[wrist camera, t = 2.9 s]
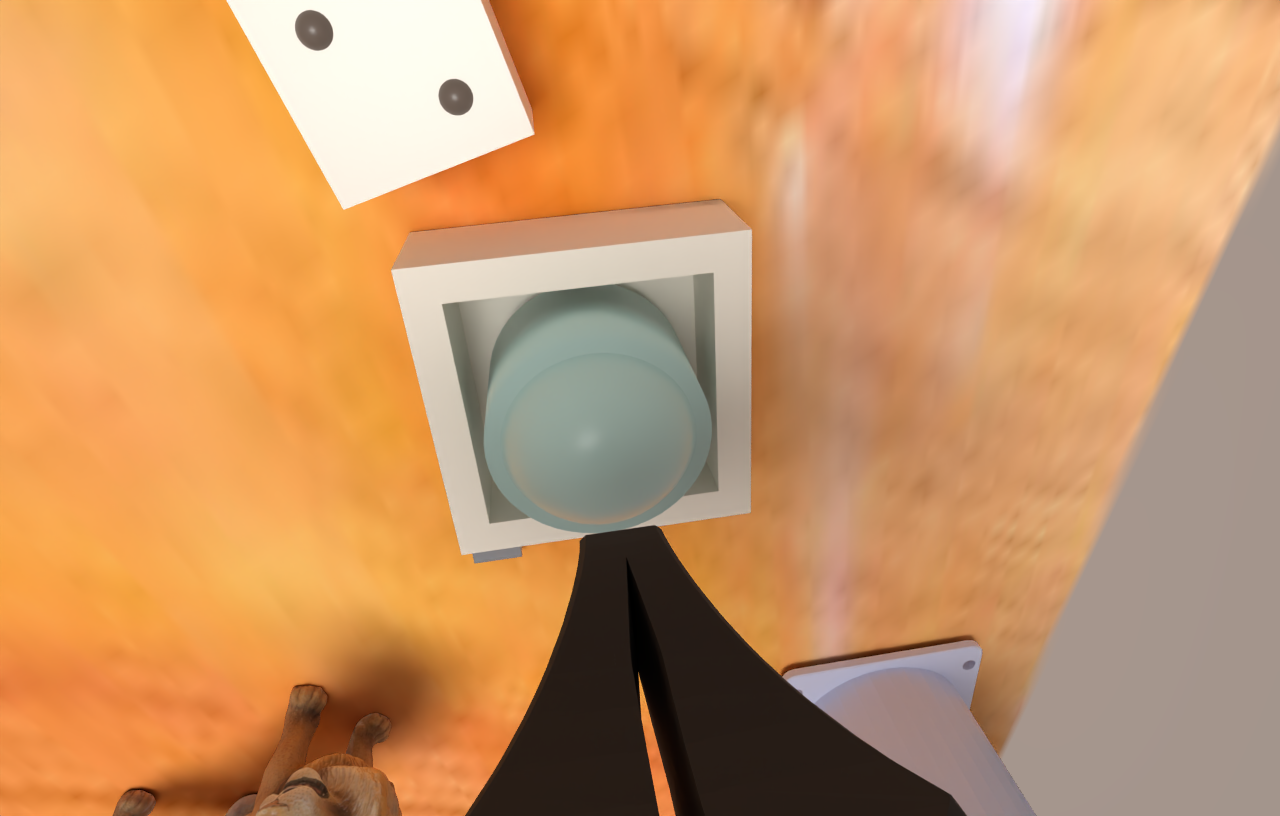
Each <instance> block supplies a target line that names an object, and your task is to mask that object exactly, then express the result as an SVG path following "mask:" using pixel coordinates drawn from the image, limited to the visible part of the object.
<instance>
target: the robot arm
mask: <svg viewBox="0 0 1280 816" xmlns="http://www.w3.org/2000/svg"><path fill="white" fill-rule="evenodd" d="M981 657H982V649H981V647H980V646H979V645H978V643H977V642H976V641H973V640H966V641H960V642H953V643H947V644H941V645H935V646H929V647H923V648H917V649H911V650H905V651H899V652H893V653H887V654H881V655H875V656H869V657H863V658H857V659H851V660H845V661H839V662H833V663H827V664H821V665H815V666H809V667H803V668H797V669H792V670H789V671H788V672H786V673H785V674H784V675H783V676H781V675H779V674H778V673H777V672H776V671H775V670H774V669H773V668H772V667H771V666H770V665H769V664H768V663H767V662H765V661H764V660H763V659H762V658H761V657H760V656H759V655H758V654H757V653H756V652H755V651H754V650H753V649H752V648H751V647H750V646H749V645H748V644H747V643H746V642H745V640H744V639H743V638H742V637H741V636H740V635H739V634H738V633H737V632H736V631H735V630H734V629H733V627H732V626H731V625H730V624H729V623H728V622H727V621H726V620H725V619H724V617H723V616H722V615H721V614H720V613H719V612H718V610H717V609H716V608H715V607H714V606H713V604H712V603H711V602H710V601H709V599H708V598H707V597H706V596H705V594H704V593H703V592H702V591H701V589H700V588H699V587H698V586H697V584H696V583H695V582H694V580H693V579H692V577H691V576H690V575H689V573H688V572H687V571H686V569H685V568H684V566H683V565H682V563H681V562H680V560H679V559H678V557H677V556H676V554H675V553H674V551H673V550H672V548H671V546H670V545H669V543H668V541H667V539H666V538H665V536H664V534H663V532H662V530H661V529H660V528H659V527H657V526H656V525H651V526H644V527H638V528H631V529H624V530H617V531H610V532H603V533H596V534H589V535H585V536H584V537H583V538H582V539H581V540H580V553H579V561H578V567H577V573H576V577H575V582H574V586H573V591H572V594H571V598H570V601H569V605H568V608H567V611H566V615H565V618H564V622H563V625H562V628H561V631H560V634H559V636H558V639H557V642H556V644H555V647H554V650H553V652H552V655H551V658H550V660H549V663H548V666H547V668H546V670H545V673H544V675H543V677H542V680H541V682H540V684H539V687H538V689H537V691H536V693H535V695H534V698H533V700H532V702H531V704H530V706H529V708H528V710H527V712H526V714H525V716H524V718H523V720H522V722H521V724H520V726H519V727H518V729H517V731H516V733H515V735H514V737H513V739H512V740H511V742H510V744H509V746H508V748H507V750H506V752H505V753H504V755H503V757H502V758H501V760H500V762H499V764H498V765H497V767H496V769H495V770H494V772H493V774H492V775H491V777H490V778H489V780H488V781H487V783H486V784H485V786H484V787H483V789H482V791H481V792H480V794H479V795H478V797H477V798H476V800H475V801H474V803H473V804H472V806H471V807H470V809H469V811H468V812H467V814H466V815H465V816H659V812H658V807H657V801H656V796H655V791H654V785H653V780H652V775H651V769H650V764H649V759H648V753H647V748H646V742H645V737H644V731H643V726H642V720H641V707H640V692H639V676H640V680H641V683H642V687H643V691H644V695H645V698H646V702H647V706H648V710H649V714H650V717H651V721H652V725H653V728H654V732H655V736H656V740H657V743H658V747H659V751H660V755H661V758H662V762H663V766H664V770H665V773H666V777H667V781H668V785H669V788H670V793H671V797H672V801H673V806H674V810H675V815H676V816H1036V814H1035V813H1034V811H1033V810H1032V808H1031V806H1030V805H1029V803H1028V802H1027V800H1026V799H1025V797H1024V796H1023V794H1022V792H1021V791H1020V789H1019V787H1018V786H1017V784H1016V783H1015V781H1014V780H1013V778H1012V776H1011V775H1010V773H1009V772H1008V770H1007V769H1006V767H1005V765H1004V764H1003V762H1002V761H1001V759H1000V758H999V756H998V754H997V753H996V751H995V750H994V748H993V746H992V745H991V743H990V742H989V740H988V739H987V737H986V735H985V734H984V732H983V731H982V729H981V728H980V726H979V724H978V723H977V721H976V720H975V718H974V717H973V715H972V713H971V712H970V706H971V702H972V697H973V693H974V688H975V684H976V679H977V675H978V671H979V666H980V662H981ZM638 672H639V676H638Z"/></svg>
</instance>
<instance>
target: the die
mask: <svg viewBox="0 0 1280 816" xmlns="http://www.w3.org/2000/svg"><path fill="white" fill-rule="evenodd" d="M227 2H228V4H229V6H230V7H231V9H232V11H233V13H234V15H235V16H236V18H237V20H238V22H239V23H240V25H241V27H242V29H243V31H244V32H245V34H246V36H247V38H248V40H249V41H250V43H251V45H252V47H253V49H254V50H255V52H256V54H257V56H258V57H259V59H260V61H261V63H262V65H263V66H264V68H265V70H266V72H267V74H268V75H269V77H270V79H271V81H272V82H273V84H274V86H275V88H276V90H277V91H278V93H279V95H280V97H281V99H282V100H283V102H284V104H285V106H286V108H287V109H288V111H289V113H290V115H291V116H292V118H293V120H294V122H295V124H296V125H297V127H298V129H299V131H300V133H301V134H302V136H303V138H304V140H305V141H306V143H307V145H308V147H309V149H310V150H311V152H312V154H313V156H314V158H315V159H316V161H317V163H318V165H319V166H320V168H321V170H322V172H323V174H324V175H325V177H326V179H327V181H328V183H329V184H330V186H331V188H332V190H333V192H334V193H335V195H336V197H337V199H338V200H339V202H340V204H341V206H342V208H343V209H347V208H349V207H352V206H354V205H357V204H359V203H362V202H364V201H367V200H370V199H372V198H375V197H377V196H380V195H382V194H385V193H387V192H390V191H392V190H395V189H397V188H400V187H402V186H405V185H408V184H410V183H413V182H415V181H418V180H420V179H423V178H425V177H428V176H430V175H433V174H435V173H438V172H440V171H443V170H445V169H448V168H451V167H453V166H456V165H458V164H461V163H463V162H466V161H468V160H471V159H473V158H476V157H478V156H481V155H483V154H486V153H489V152H491V151H494V150H496V149H499V148H501V147H504V146H506V145H509V144H511V143H514V142H516V141H519V140H521V139H524V138H527V137H529V136H532V135H534V124H533V113H532V108H531V105H530V103H529V100H528V98H527V95H526V93H525V90H524V87H523V85H522V82H521V80H520V77H519V75H518V72H517V70H516V67H515V65H514V62H513V60H512V57H511V55H510V52H509V49H508V47H507V44H506V42H505V39H504V37H503V34H502V32H501V29H500V27H499V24H498V22H497V19H496V17H495V14H494V12H493V9H492V6H491V4H490V1H489V0H227Z"/></svg>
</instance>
